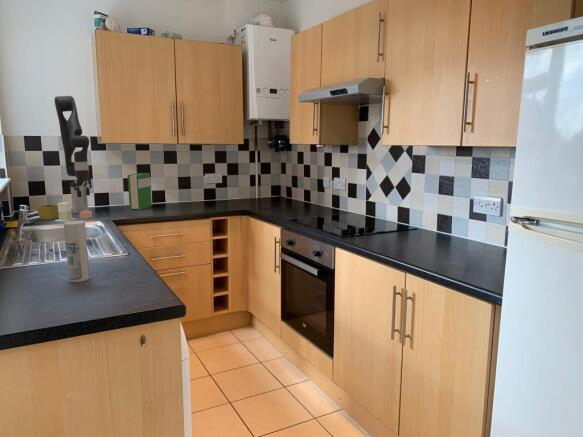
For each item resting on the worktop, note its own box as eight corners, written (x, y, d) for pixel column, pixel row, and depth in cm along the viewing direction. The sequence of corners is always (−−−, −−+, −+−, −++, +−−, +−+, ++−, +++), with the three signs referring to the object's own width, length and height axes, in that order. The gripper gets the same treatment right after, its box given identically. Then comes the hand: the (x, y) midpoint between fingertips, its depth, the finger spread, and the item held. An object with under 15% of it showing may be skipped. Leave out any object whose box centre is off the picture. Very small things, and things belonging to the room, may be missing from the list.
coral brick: (84, 218, 271) (84, 210, 271) (92, 218, 271) (91, 210, 270) (80, 219, 266) (79, 211, 266) (87, 220, 266) (87, 211, 265)
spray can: (64, 281, 150) (59, 223, 147) (79, 275, 156) (74, 220, 153) (79, 283, 148) (73, 224, 144) (94, 277, 154) (89, 221, 150)
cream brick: (63, 210, 263) (62, 202, 263) (71, 210, 263) (70, 202, 262) (58, 211, 259) (57, 203, 258) (66, 211, 258) (65, 203, 257)
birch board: (63, 219, 267) (63, 217, 267) (78, 219, 266) (78, 218, 266) (52, 222, 257) (52, 220, 257) (68, 222, 256) (68, 221, 256)
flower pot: (50, 222, 258) (49, 207, 257) (37, 221, 260) (36, 206, 259) (61, 219, 267) (59, 205, 265) (48, 219, 269) (47, 204, 267)
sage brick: (64, 218, 264) (63, 210, 263) (72, 218, 264) (71, 210, 263) (59, 220, 259) (58, 211, 259) (67, 220, 259) (66, 211, 258)
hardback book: (139, 210, 303) (137, 175, 299) (129, 209, 304) (127, 175, 300) (151, 206, 320) (149, 173, 316) (142, 206, 321) (140, 173, 317)
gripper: (82, 168, 271) (85, 195, 273) (68, 170, 257) (70, 197, 259) (94, 168, 270) (96, 195, 272) (80, 170, 256) (82, 197, 258)
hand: (83, 196), depth 266 cm, fingers open, 8 cm apart
